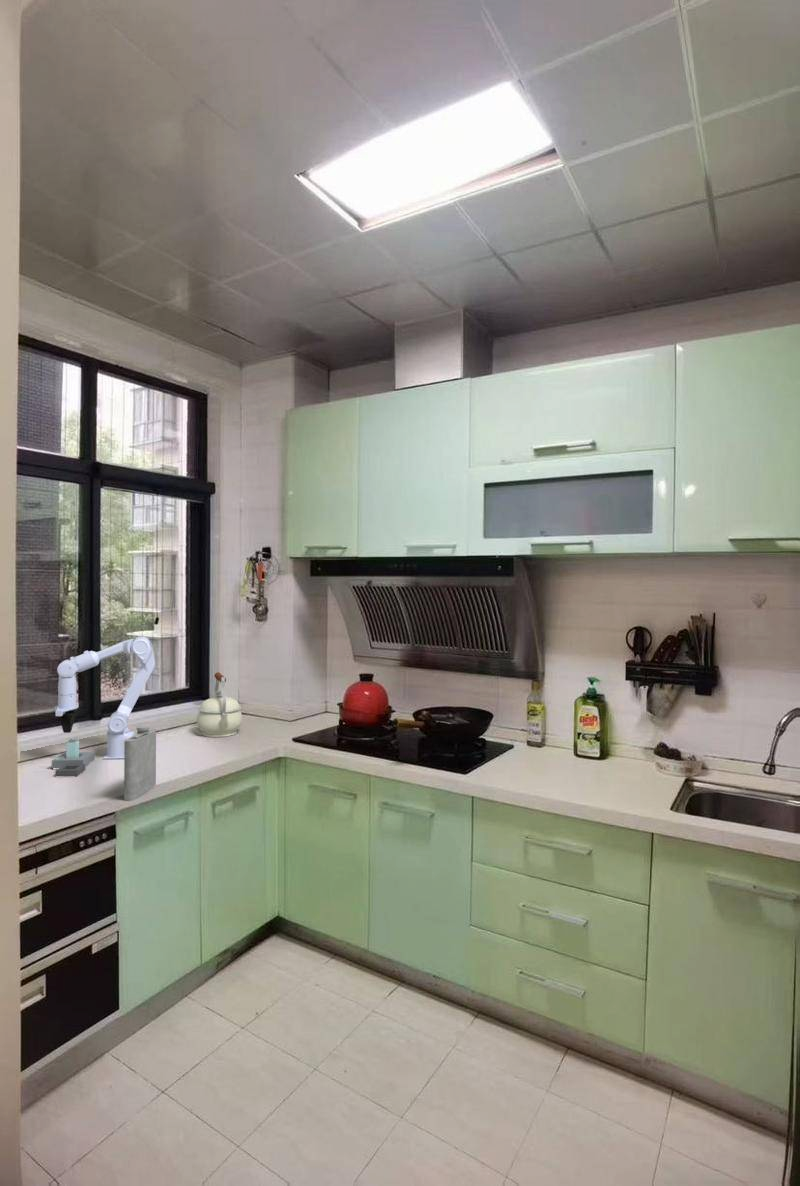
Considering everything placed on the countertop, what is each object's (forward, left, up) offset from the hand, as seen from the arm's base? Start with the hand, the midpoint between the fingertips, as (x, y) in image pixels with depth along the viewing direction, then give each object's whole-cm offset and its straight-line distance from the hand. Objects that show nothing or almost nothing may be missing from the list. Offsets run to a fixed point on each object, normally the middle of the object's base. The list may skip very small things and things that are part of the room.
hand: (67, 732), depth 221 cm
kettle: (-47, -35, -10) cm, 59 cm away
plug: (-4, +6, -10) cm, 12 cm away
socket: (-5, +6, -10) cm, 12 cm away
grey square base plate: (-8, +16, -10) cm, 20 cm away
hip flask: (-36, +36, -10) cm, 52 cm away
